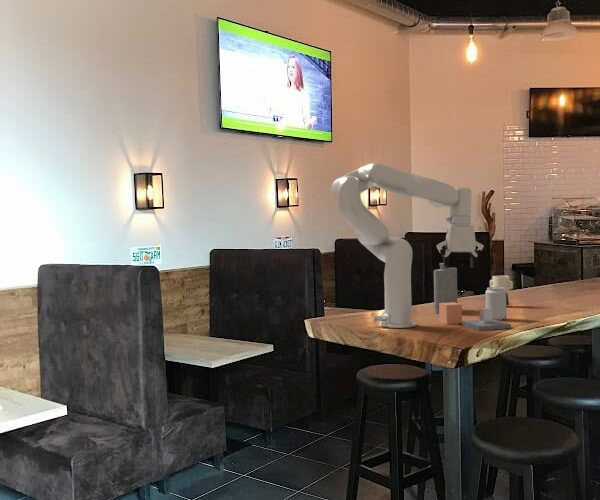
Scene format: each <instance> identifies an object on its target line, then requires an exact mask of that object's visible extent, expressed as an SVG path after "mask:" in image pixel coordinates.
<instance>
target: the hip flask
mask: <svg viewBox="0 0 600 500" xmlns="http://www.w3.org/2000/svg"><path fill="white" fill-rule="evenodd" d="M438 266H439V269H438V268H437V269H434V270H433V291H434V292H433V296H434V297H433V301H434V302H433V303H434V315H439V303H451V302H455V303H458V268H457V267H449V268H445V266H444V262H442V263H441V262H439V265H438Z"/></svg>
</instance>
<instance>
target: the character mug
mask: <svg viewBox="0 0 600 500" xmlns="http://www.w3.org/2000/svg"><path fill="white" fill-rule="evenodd" d="M491 277H492V278H491V279H490V280H489V287H503V288H504V290H505V291H506V306H509V305H510V302H509V301H510V300H509V295H508V293H507V292H509V291H510V289H511V290H512V289H513V288H514V287H513V285H514V282H513V280H510V276H509V275H492V276H491Z"/></svg>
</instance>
